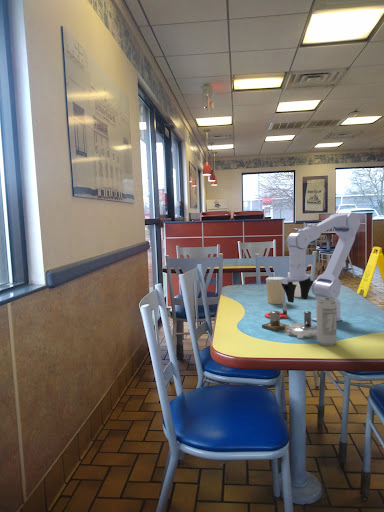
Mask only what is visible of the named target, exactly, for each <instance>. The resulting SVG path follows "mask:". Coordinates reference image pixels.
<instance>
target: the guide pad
mask: <svg viewBox="0 0 384 512" xmlns="http://www.w3.org/2000/svg"><path fill="white" fill-rule="evenodd" d="M286 326H290V325H289V324H285V323H282V322H280V326H271V325H270V322H268V323H264V324H262V325H261V328H263V329H266V330H269V331H273V332H279V331H282V330H285V327H286Z"/></svg>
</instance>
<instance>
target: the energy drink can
mask: <svg viewBox="0 0 384 512" xmlns="http://www.w3.org/2000/svg"><path fill="white" fill-rule="evenodd" d="M337 322H338V321H337V304H336V302H335V300H334V298H332V297H319V300H318V302H317V321H316V326H317V338H316V341H317V342H318V344H319V345H320V346H324V347H333V346H335V344H336V343H337Z"/></svg>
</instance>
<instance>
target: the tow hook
mask: <svg viewBox="0 0 384 512" xmlns="http://www.w3.org/2000/svg"><path fill="white" fill-rule="evenodd" d="M282 288H283V287H282ZM282 296H283V303H282V312H280V311H279V312H280V319H284V320H285V319H287V318H288V310H287V302H286V300H287V296H286V292H285V290H284V288H283V291H282ZM264 317H265V318H266V319H269V320H270V312H266V313H265V314H264Z"/></svg>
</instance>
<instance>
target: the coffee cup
mask: <svg viewBox="0 0 384 512" xmlns="http://www.w3.org/2000/svg"><path fill="white" fill-rule="evenodd" d="M282 278H285V277H283V276H269V277H266V278H265V282H266V283H265V286H266V293H267V303H268V304H271V305H281V304H282V305H283V296H282V291H283V288H282Z"/></svg>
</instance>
